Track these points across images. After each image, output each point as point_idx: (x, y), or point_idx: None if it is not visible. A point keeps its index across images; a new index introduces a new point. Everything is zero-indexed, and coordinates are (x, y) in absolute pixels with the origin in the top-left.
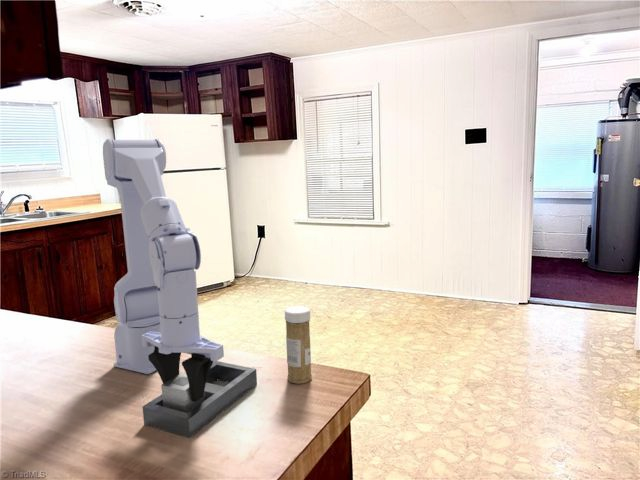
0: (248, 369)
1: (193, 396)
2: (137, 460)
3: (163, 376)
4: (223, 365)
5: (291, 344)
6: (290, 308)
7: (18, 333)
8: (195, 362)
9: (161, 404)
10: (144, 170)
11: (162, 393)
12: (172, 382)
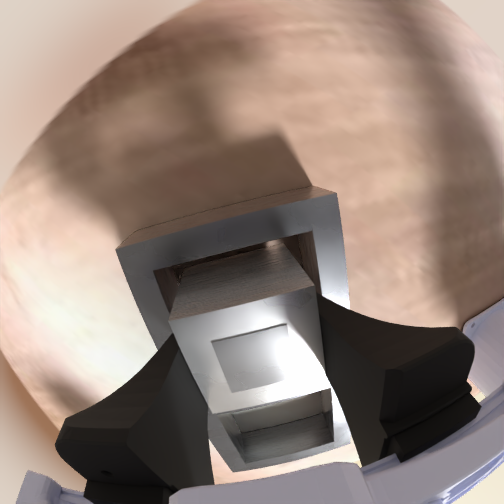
0: (246, 466)
1: (172, 332)
2: (162, 78)
3: (340, 323)
4: (315, 448)
5: None
6: None
7: None
8: (71, 458)
9: (312, 256)
10: None
11: (299, 268)
12: (287, 330)
